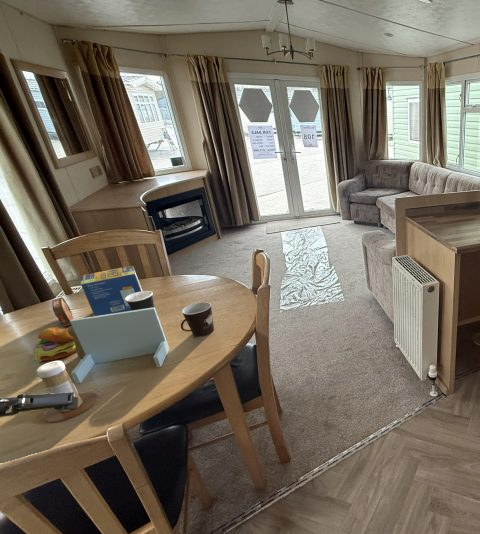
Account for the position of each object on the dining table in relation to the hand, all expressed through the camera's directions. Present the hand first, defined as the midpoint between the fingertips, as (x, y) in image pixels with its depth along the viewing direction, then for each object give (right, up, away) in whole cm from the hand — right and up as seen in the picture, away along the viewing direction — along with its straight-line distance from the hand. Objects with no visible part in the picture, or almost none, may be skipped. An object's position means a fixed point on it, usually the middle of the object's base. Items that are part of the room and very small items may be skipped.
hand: (37, 412), depth 78 cm
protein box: (-34, +17, +57) cm, 69 cm away
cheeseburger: (-30, +6, +32) cm, 44 cm away
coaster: (-4, -4, +11) cm, 13 cm away
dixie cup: (-17, +13, +50) cm, 54 cm away
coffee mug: (+7, +10, +43) cm, 45 cm away
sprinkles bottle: (-4, -3, +11) cm, 12 cm away
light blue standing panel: (-4, +3, +27) cm, 28 cm away
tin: (-46, +13, +49) cm, 69 cm away
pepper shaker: (-20, +5, +32) cm, 38 cm away
